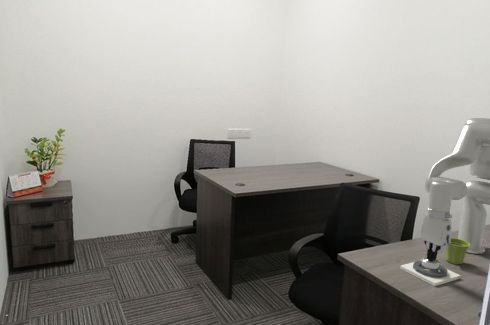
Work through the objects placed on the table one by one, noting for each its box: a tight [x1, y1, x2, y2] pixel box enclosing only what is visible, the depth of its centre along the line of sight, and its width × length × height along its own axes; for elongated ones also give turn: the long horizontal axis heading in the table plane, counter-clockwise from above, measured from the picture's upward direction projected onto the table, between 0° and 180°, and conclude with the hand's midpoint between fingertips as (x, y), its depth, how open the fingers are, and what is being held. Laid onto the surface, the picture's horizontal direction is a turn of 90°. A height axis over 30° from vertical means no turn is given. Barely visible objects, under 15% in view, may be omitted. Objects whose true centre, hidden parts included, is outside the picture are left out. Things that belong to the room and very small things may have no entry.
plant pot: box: [445, 237, 470, 265], centre depth 152 cm, size 9×9×9 cm
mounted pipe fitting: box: [399, 259, 462, 287], centre depth 141 cm, size 15×15×2 cm
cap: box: [421, 256, 441, 272], centre depth 141 cm, size 6×6×4 cm
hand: (431, 259), depth 140 cm, fingers closed
